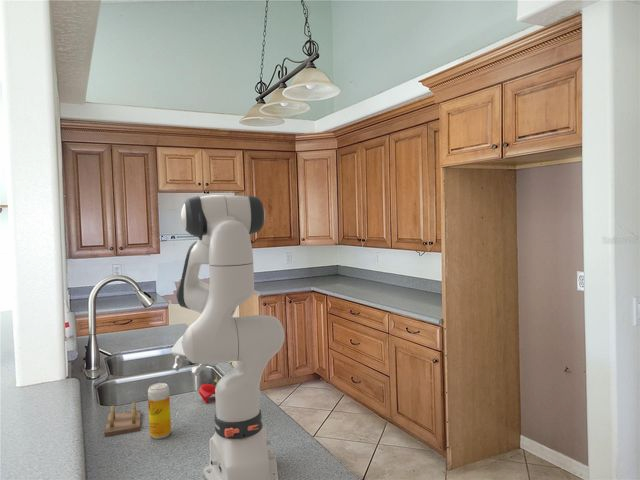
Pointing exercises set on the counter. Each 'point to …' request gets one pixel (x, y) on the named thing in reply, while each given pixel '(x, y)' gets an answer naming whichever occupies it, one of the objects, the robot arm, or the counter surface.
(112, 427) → the standoff plate
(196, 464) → the counter surface
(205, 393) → the cap
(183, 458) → the counter surface
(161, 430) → the glass of beer
